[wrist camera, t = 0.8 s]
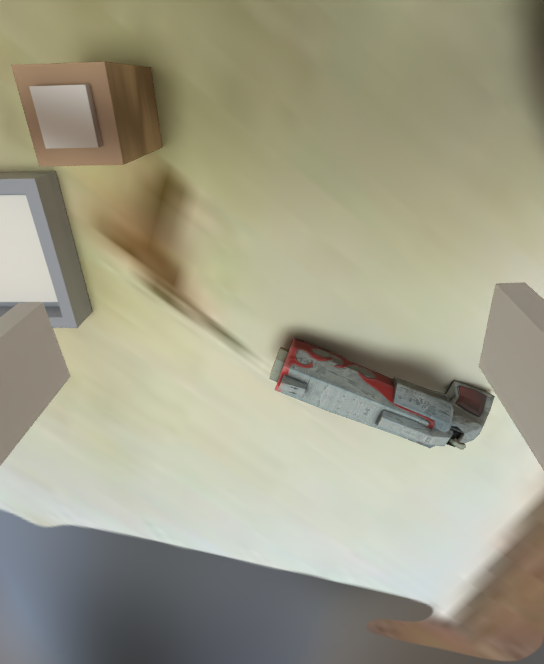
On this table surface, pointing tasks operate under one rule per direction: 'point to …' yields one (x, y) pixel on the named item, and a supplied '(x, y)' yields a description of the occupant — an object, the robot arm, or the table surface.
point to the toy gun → (381, 397)
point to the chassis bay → (39, 249)
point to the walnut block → (89, 112)
